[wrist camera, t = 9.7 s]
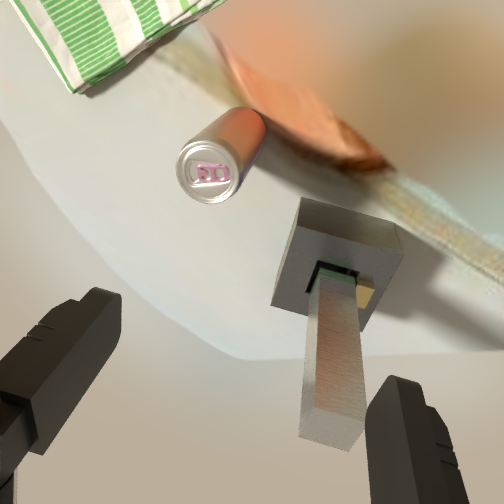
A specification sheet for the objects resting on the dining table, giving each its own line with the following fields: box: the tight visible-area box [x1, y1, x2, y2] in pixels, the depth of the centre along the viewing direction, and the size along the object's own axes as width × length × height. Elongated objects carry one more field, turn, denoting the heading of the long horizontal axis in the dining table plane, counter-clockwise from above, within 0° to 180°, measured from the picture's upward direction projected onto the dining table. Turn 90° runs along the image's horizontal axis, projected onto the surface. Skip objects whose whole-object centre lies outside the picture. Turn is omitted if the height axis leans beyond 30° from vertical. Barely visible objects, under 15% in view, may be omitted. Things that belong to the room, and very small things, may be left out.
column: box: [299, 268, 367, 452], centre depth 34 cm, size 4×4×18 cm
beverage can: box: [176, 107, 267, 204], centre depth 37 cm, size 6×6×15 cm
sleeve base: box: [271, 197, 404, 332], centre depth 45 cm, size 12×12×9 cm
